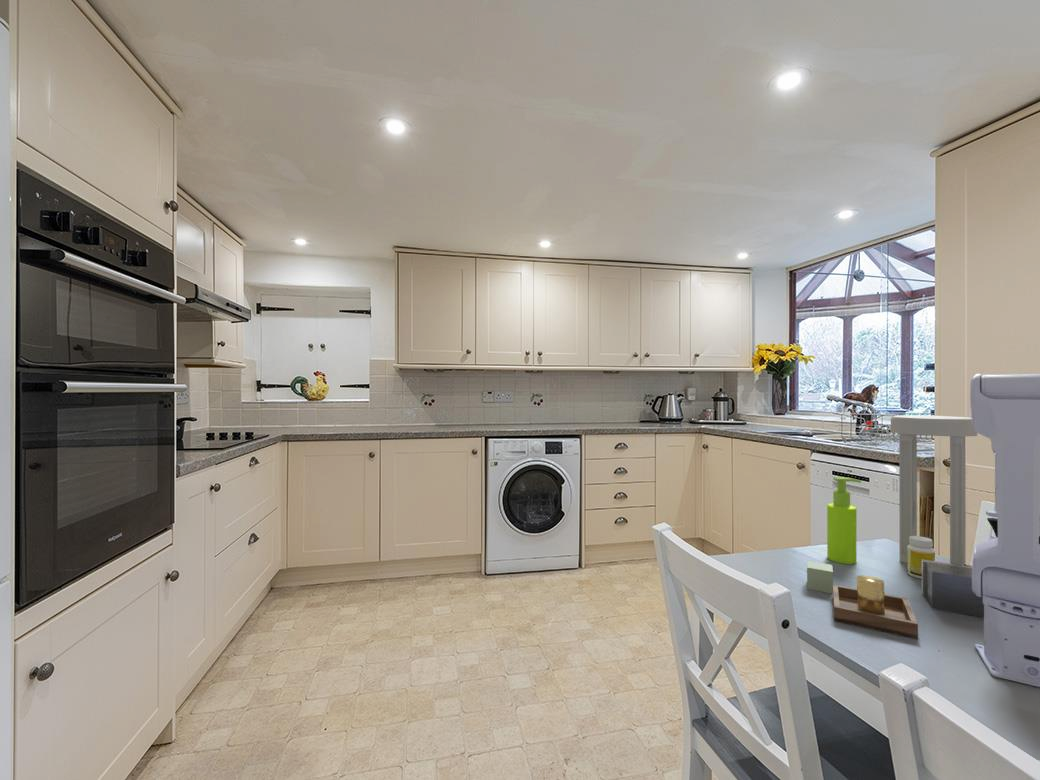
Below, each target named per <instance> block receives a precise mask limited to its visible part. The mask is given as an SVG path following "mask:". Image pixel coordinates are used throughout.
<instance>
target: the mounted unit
mask: <svg viewBox="0 0 1040 780" xmlns="http://www.w3.org/2000/svg"><path fill="white" fill-rule="evenodd" d="M982 592H983V591H982ZM921 595H922V597H926V599H927V601H928V603H929V605H930V607H931V608H932V609H933V610H940V611H945V612H950V613H954V614H955V613H956V614H959V615H960V614H961V615H966V616H970V617H971V616H972V617H976V618H982V619H984V604H983V596H982V597H978V596H976V594H975V593H974V592H973V591H972V566H969V565H964V566H963V565H956V564H950V562H948V563H947V562H941V561H940V562H939V561H936V560H935V561H929V560H922V579H921Z"/></svg>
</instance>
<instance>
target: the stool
mask: <svg viewBox="0 0 1040 780" xmlns="http://www.w3.org/2000/svg"><path fill="white" fill-rule="evenodd" d="M890 433H894V434H895V433H897V434H899V436H898V437H899V442H898V444H899V446H898V447H899V452H898V453H899V457H898V458H899V463H898V464H899V471H898V472H899V477H898V479H899V481H898V482H899V485H898V486H899V490H898V491H899V494H898V495H899V503H898V504H899V505H898V507H899V508H898V509H899V562H900V563H905V564H907V546H908V545H909V544H910V543H909V537H910V536H918V533H917V532H918V521H917V520H918V514H917V513H918V506H917V505H918V500H917V499H918V495H917V494H918V491H917V490H918V488H917V487H918V484H917V483H918V477H917V476H918V475H917V473H918V468H917V467H918V463H917V462H918V459H917V457H918V453H917V452H918V448H917V447H918V444H917V443H918V436H930V437H931V436H932V437H933V436H935V437H949V558H950V559H949V564H956V565H963V566H965V564H966V559H967V558H966V553H967V552H966V549H967V548H966V545H967V543H966V541H967V540H966V533H967V531H966V437H977V436H978V433H976V432H975V431H974V425H972V417H969V416H968V417H966V416H948V415H924V414H923V415H913V414H912V415H911V414H906V415H903V414H902V415H899V414H898V415H893V416H891V417H890Z"/></svg>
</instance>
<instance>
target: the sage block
mask: <svg viewBox="0 0 1040 780" xmlns="http://www.w3.org/2000/svg"><path fill="white" fill-rule="evenodd" d="M806 563H807V564H806V565H807V567H806V580H807V581H806V584H807V585H806V586H807V587H806V588H807V590H812V591H817V592H824V593H829V594H833V585H834V570H833V569H834V568H833V564H829V563H823V562H816V561H810V560H807V562H806Z"/></svg>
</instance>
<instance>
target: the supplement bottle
mask: <svg viewBox="0 0 1040 780" xmlns="http://www.w3.org/2000/svg"><path fill="white" fill-rule="evenodd" d="M933 542H934V541H933V539H931V538H930V537H925V536H920V535H917V536H910V537H909V543H910V544H909V545H908V546H907V563H906V569H907V570H906V573H907V574H908V575H909V576H911V577H913V578H916V579H919V580H922V560H929V561H936V551H935V549H934V548H933V546H934V544H933Z"/></svg>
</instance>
